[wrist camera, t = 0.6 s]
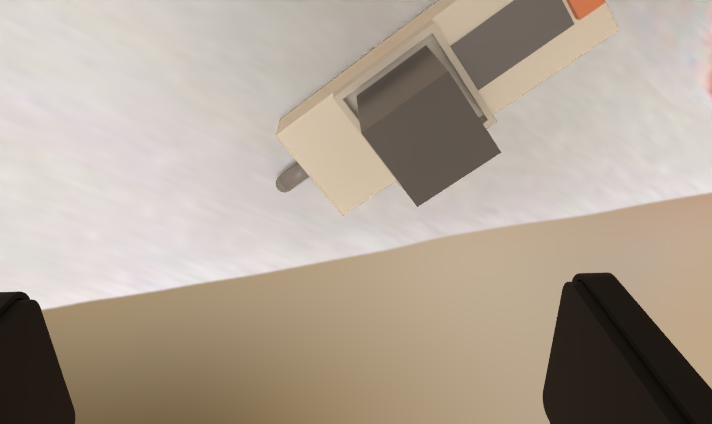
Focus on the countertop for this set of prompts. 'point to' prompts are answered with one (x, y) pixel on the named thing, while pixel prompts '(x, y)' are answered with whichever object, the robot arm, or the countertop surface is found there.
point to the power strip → (463, 61)
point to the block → (423, 126)
